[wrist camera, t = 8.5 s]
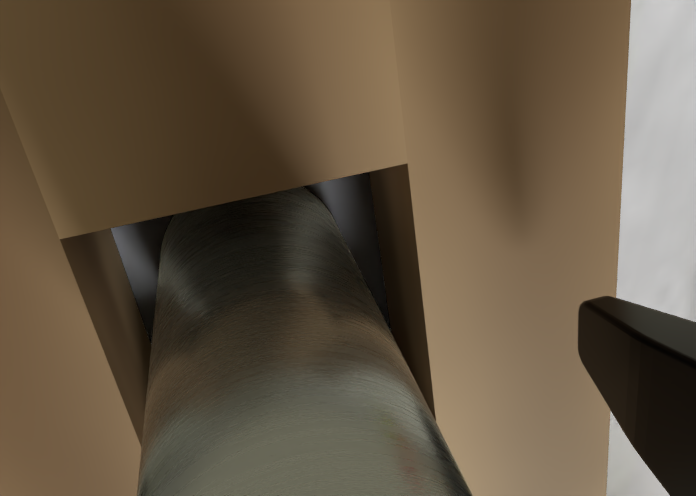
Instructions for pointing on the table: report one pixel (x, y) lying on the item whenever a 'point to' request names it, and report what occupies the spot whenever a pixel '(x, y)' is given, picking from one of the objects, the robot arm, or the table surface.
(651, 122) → the table surface
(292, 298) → the long pin
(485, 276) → the hole block
